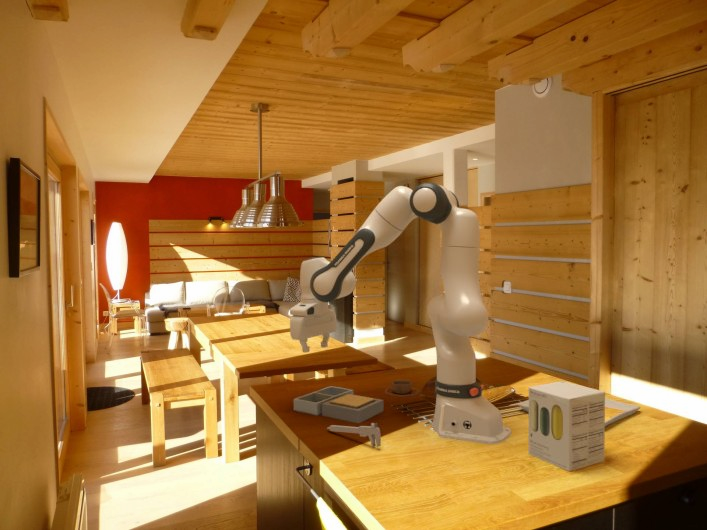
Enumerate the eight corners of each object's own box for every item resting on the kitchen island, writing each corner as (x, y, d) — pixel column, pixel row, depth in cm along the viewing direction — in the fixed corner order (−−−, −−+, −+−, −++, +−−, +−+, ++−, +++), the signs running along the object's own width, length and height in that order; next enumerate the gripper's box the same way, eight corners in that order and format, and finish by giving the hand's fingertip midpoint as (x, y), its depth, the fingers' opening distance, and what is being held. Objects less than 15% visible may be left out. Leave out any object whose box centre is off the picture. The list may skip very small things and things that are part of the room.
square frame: (383, 412, 181) (383, 400, 181) (358, 424, 169) (358, 410, 169) (347, 405, 189) (347, 393, 189) (322, 416, 177) (321, 403, 177)
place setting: (397, 388, 214) (397, 372, 213) (447, 394, 204) (447, 378, 204) (376, 399, 198) (376, 382, 198) (429, 407, 188) (429, 389, 188)
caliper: (380, 447, 149) (381, 424, 148) (377, 448, 148) (378, 425, 148) (329, 428, 163) (329, 407, 163) (326, 429, 163) (326, 408, 162)
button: (374, 411, 180) (374, 398, 180) (357, 419, 172) (357, 406, 172) (349, 406, 186) (349, 394, 186) (330, 413, 178) (330, 401, 178)
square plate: (601, 436, 158) (601, 423, 158) (515, 414, 179) (515, 402, 179) (641, 416, 176) (641, 404, 176) (559, 398, 197) (559, 387, 197)
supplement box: (526, 454, 145) (526, 386, 144) (562, 445, 151) (562, 380, 150) (569, 472, 133) (569, 398, 132) (605, 461, 139) (606, 391, 139)
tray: (331, 397, 199) (330, 385, 199) (353, 401, 194) (353, 389, 193) (293, 411, 183) (293, 399, 182) (317, 416, 177) (316, 403, 177)
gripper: (326, 303, 193) (327, 343, 194) (286, 310, 176) (287, 354, 177) (341, 304, 190) (342, 345, 190) (301, 311, 173) (302, 356, 173)
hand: (315, 349), depth 183 cm, fingers open, 8 cm apart
